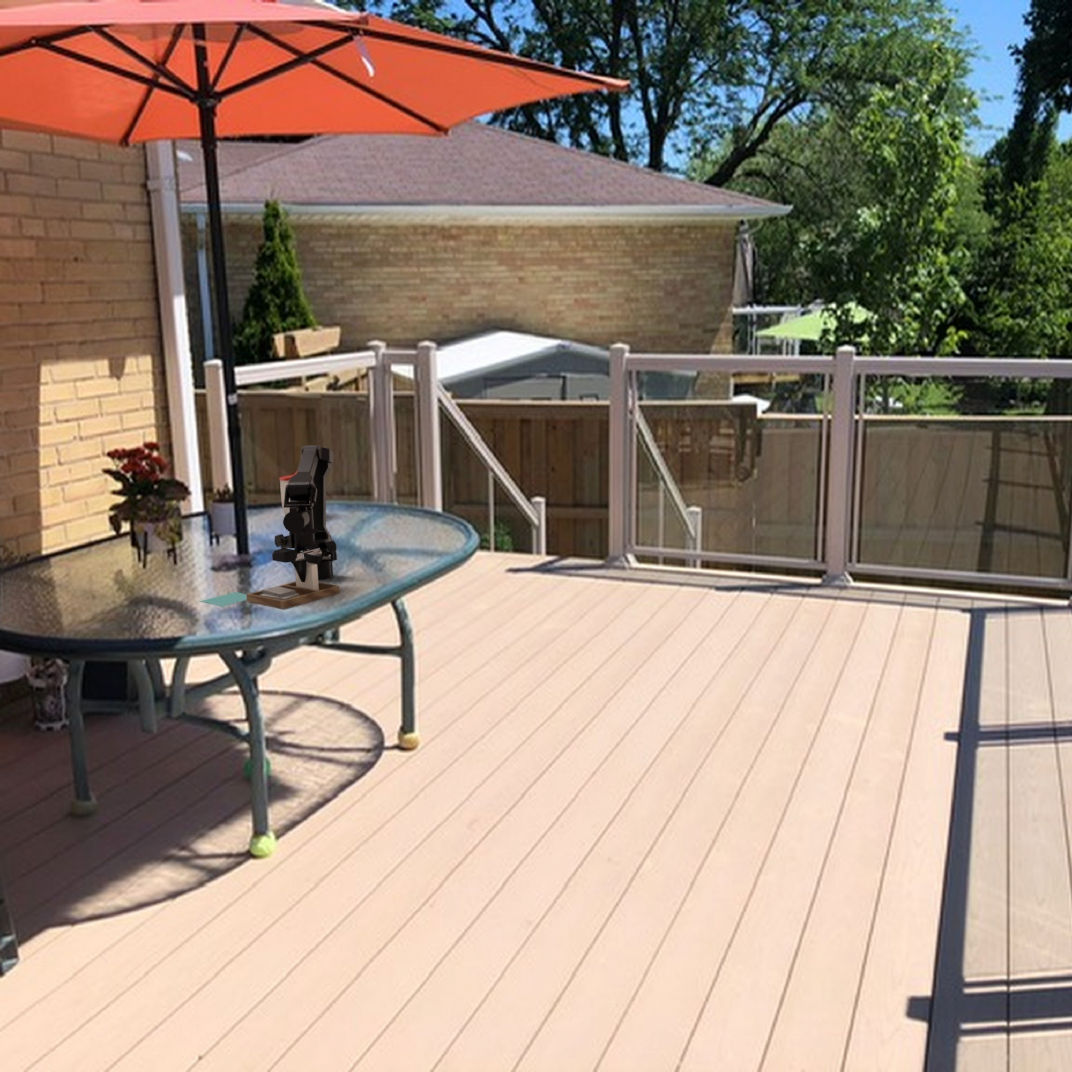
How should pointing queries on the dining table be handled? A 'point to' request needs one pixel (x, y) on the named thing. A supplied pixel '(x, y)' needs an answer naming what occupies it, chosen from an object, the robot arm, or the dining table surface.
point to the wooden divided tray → (303, 597)
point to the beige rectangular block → (309, 578)
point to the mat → (226, 599)
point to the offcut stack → (279, 593)
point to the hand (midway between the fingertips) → (307, 580)
